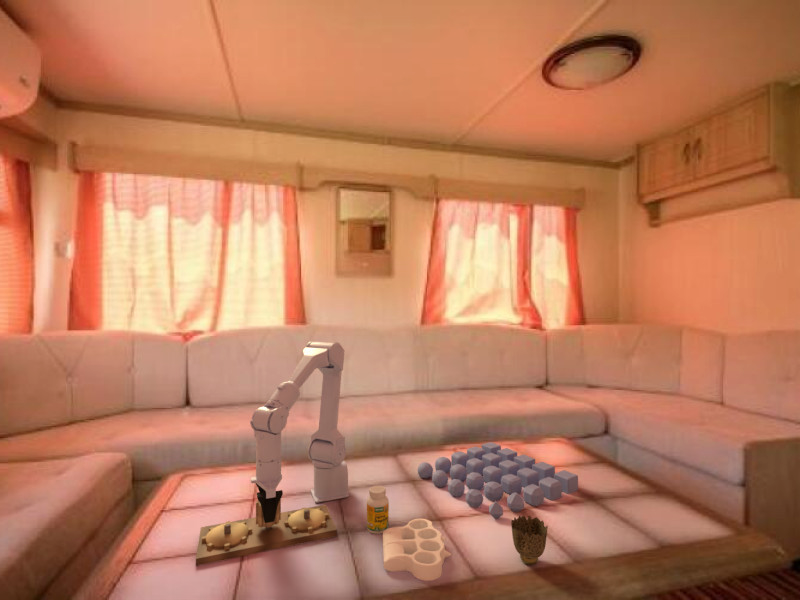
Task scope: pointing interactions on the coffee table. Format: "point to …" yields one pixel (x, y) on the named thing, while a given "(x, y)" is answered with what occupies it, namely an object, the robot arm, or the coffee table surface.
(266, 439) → the robot arm
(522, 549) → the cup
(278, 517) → the maple gear
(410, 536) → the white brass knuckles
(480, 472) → the blocks
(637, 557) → the coffee table surface
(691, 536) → the coffee table surface
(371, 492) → the supplement bottle
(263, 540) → the gear board
